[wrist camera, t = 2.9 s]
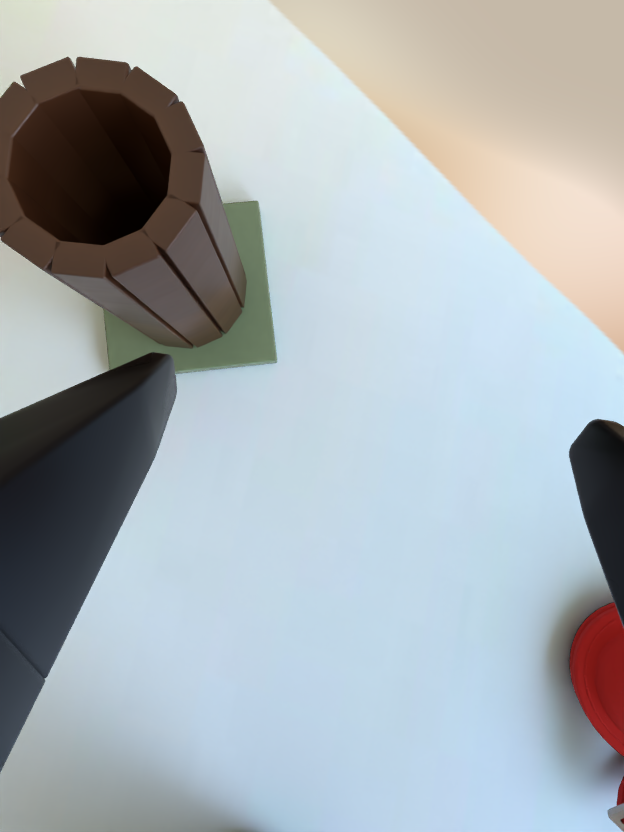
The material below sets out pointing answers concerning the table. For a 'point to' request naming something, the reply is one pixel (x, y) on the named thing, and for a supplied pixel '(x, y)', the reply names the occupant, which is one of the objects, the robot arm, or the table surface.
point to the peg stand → (236, 348)
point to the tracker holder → (602, 682)
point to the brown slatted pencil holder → (119, 199)
